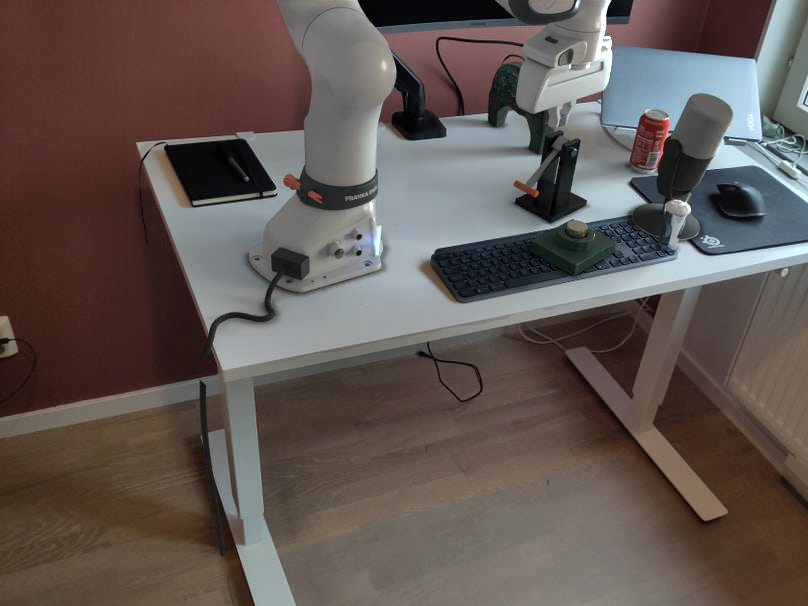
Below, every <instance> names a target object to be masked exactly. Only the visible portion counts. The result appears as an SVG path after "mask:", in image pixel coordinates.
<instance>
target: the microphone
mask: <svg viewBox="0 0 808 606" xmlns="http://www.w3.org/2000/svg"><path fill="white" fill-rule="evenodd" d="M734 119H735V111H734V109H733V108H732V107H731V106H730V104H729V103H728V102H726V100H723V99H722V98H720V97H719V96H715V95H713V94H709V93H704V92H699V93H694V94H692V95H690V97H688V99H687V101H686V104H685V106H684V108H683V110H682V111H681V114H680V116H679V118H678V120H677V122H676V124H675V126H674V128H673V130H672V133H671V134H670V135H669V136H667V138H666V140H665V141H664V146H663V153H662V156H661V158H660V160H659V162H658V166H657V169H656V173H657V178H656V181H655V182H656V188H657V193H658V194H659V195H660V196H663V197H664V202H663V203H658V202H657V203H656V202H653V203H652V202H651V203H645V204H641V205H639V206H637V207H635V208H634V209H633V211H632V214H631V220H632V222H633V224H634V225H635V226H636V228H638V229H639V230H640V231H642V232H643V233H645V234H647V235H649V236H651V237H654V238H657V239H659V236H660V231H661V226H662V221H663V215H664V209H665V204H666V203H667V202H669V201H671V200H680V201H681V199H682V198H685V197H688V195H689V193H690V194H691V193H692V191H693V189H694V188H696V187H697V186H698V185H699V184H700V183H701V181H702V179H703V177H704V176H705V173H706V172H707V170H708V168H709V166H710V165H711V162H712V161H713V160H714V158H715V156H716V153H717V152H718V149H719V148H720V145H721V144H722V142H723V140H724V139H725V136H726V134H727V132H728V130H729V128H730V127H731V125H732V123H733V121H734ZM700 229H701V225H700V222H699V220H698V219H697V218H696V217H695V216H694V215H693V214H692V213H690V214H689V216H688V219H687V221H686V223H685V226H684V228H683V231H682V233H681V236H680V238H679V241H678V242H684V241H689V240H691V239H694V238H695V237H697V236H698V234H699V233H700Z"/></svg>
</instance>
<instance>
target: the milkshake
mask: <svg viewBox="0 0 808 606" xmlns="http://www.w3.org/2000/svg"><path fill="white" fill-rule="evenodd" d="M691 197H692V193H691V192H690V193H689V194H688V195H687V196H686V199H685V201H682V200H681V199H680V200H671V201H669V202H667V203H666V204H665V209H664V215H663V221H662V226H661V231H660V236H659V238H658V242H657V247H658V248H659V249H660V250H661V251H665V252H673V251H676V249H677V246H678V244H679V242H680V241H679V238H680V236H681V233H682V231H683V228H684V226H685V223H686V221H687V219H688V216H689V214H691V212H692V211H691V210H692V209H691V206H690V204H688V202H689V201H690V198H691Z"/></svg>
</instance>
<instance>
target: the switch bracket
mask: <svg viewBox="0 0 808 606" xmlns="http://www.w3.org/2000/svg"><path fill="white" fill-rule="evenodd" d="M564 133H565V131H563V130H561V129H559V130H556V131H554V132H553V133H551V134H548V135H546V136H545V139H544V145H543V151H542V154H541V159H540V164H539V167H540V166H541V164H542V163H543V162H544V161H545V160H546V158H547V157H548V156H549V155H550V154H551V153H552V148H551V145H552V144H553V143H554V142H555V141H556V139H557V138H558V137H559V136H560V135H561V136H563V137H564ZM581 142H582V139H580V138H578V137H576V138H574V139H570V141H568V142H566V143H564V144H562V148H561V153H560V157H558V158H557V159H556V160H555V161H554V162H553V163H552V165H551V166H550V167H549V168H548V169H547V171H546V172H545V173H544V174H543V175H542V176H541V178H540V179H539V180H538V181H537V182H536V187H535V188H534V189H535V190H537V191H538V192H539V194H538V196H537V197H533V196H532V195H530V194H528V193H526V192H525V193H524V194H522V195H519V196H517V197H516V198H515V200H514V204H515V206H518V207H520V208H522V209H523V210H525V211H527V212H529V213H531V214H533V215H535V216H536V217H538V218H540V219H542V220H544V221H545V222H547V223H549V224H553V223H555V222H557V221H559V220H561V219H563V218H565V217H567V216H569V215H571V214H573V213H575V212H576V211H578V210H581V209H583V208H584V207H587V204H588V199H585V198H584V197H582V196H580V195H578V194H576V193H574V192H572V187H573V182H574V177H575V172H576V169H577V168H576V167H577V163H578V157H579V152H580V147H581Z"/></svg>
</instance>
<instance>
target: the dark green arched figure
mask: <svg viewBox="0 0 808 606" xmlns="http://www.w3.org/2000/svg"><path fill="white" fill-rule="evenodd" d="M511 57H514V58H519V59H521V60H522V61H524V60H525V59H526V58H524V57H523V56H522V55H519V54H515V53H511V54H508V55H507V56H505V57H504V58H503V60H502V62H501V65H500V66H499V67H498V68H497V69H496V71H495V73H494V75H493V79H492V81H491V85H490V89H489V92H488V101H487V102H488V103H487V105H488V106H487V123H488V124H489V125H491V126H492V127H494V128H500V127H504V126H505V123H506V120H507V117H508V114H509V111H510V109H511V110H512V111H513V112H515V113H516V114H518V116H520V117H521V116H522V117H523V118H525V119H526V122H527V124H528V130H529V135H530V136H529V138H530V139H529V144H528V149H529V150H530V151H533V152H535V153H536V154H537V155H542V151H543V145H544V139H545V136H546V135H548V134H551V133H553V132H555V129H554V128H552V127H550V126H549V125H548V122H549V113H548V109H547V110H544V111H541V112H538V113H535V114H532V113H529V112H527V111H525V110H523V109H521V108H520V107H519V106H518V104H517V102H516V92H517V85H518V79H519V74H520V69H521V66H522V64H523V62H521V61H511V62H506V61H507V60H508V59H510V58H511ZM505 62H506V63H505Z"/></svg>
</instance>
